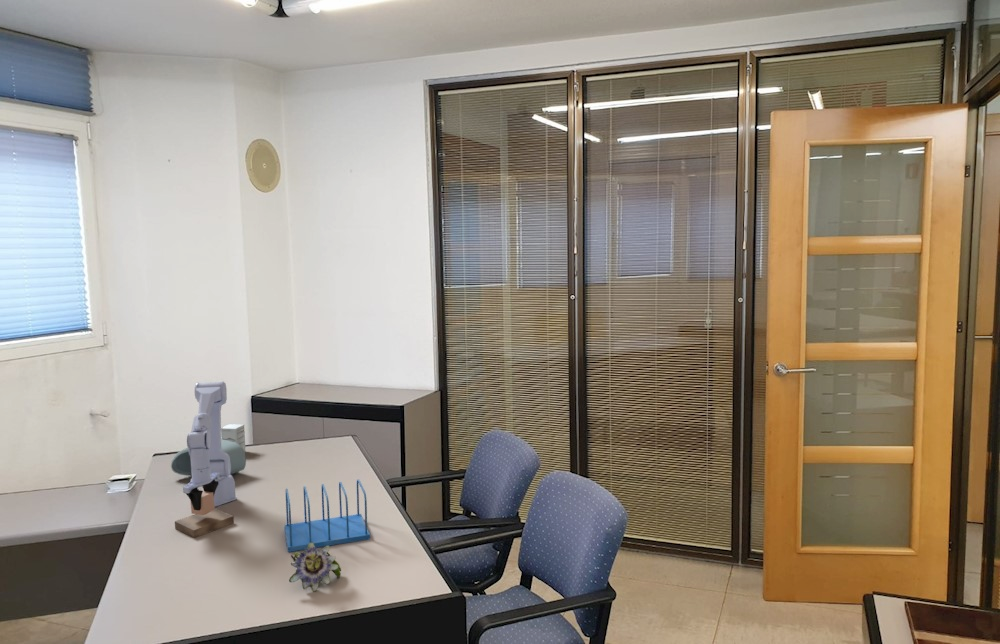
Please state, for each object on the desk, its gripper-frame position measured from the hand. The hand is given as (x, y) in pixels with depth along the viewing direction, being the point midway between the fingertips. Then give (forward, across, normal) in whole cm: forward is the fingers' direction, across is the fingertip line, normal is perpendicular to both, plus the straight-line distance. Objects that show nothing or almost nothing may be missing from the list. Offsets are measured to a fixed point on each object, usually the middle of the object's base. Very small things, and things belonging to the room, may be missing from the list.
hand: (203, 506), depth 231 cm
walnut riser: (+7, 0, 0) cm, 7 cm away
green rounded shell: (+7, -39, -32) cm, 51 cm away
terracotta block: (+2, 0, 0) cm, 2 cm away
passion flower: (+7, +22, +57) cm, 61 cm away
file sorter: (+7, -6, +43) cm, 44 cm away
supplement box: (+7, -66, -43) cm, 79 cm away
